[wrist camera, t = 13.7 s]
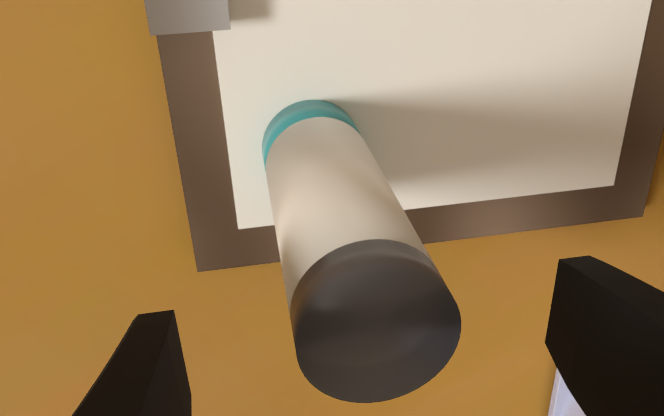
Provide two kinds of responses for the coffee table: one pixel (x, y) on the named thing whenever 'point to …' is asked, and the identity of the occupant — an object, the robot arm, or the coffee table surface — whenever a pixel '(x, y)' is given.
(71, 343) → the coffee table surface
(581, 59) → the white flat rectangle
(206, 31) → the clipboard
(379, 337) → the marker
